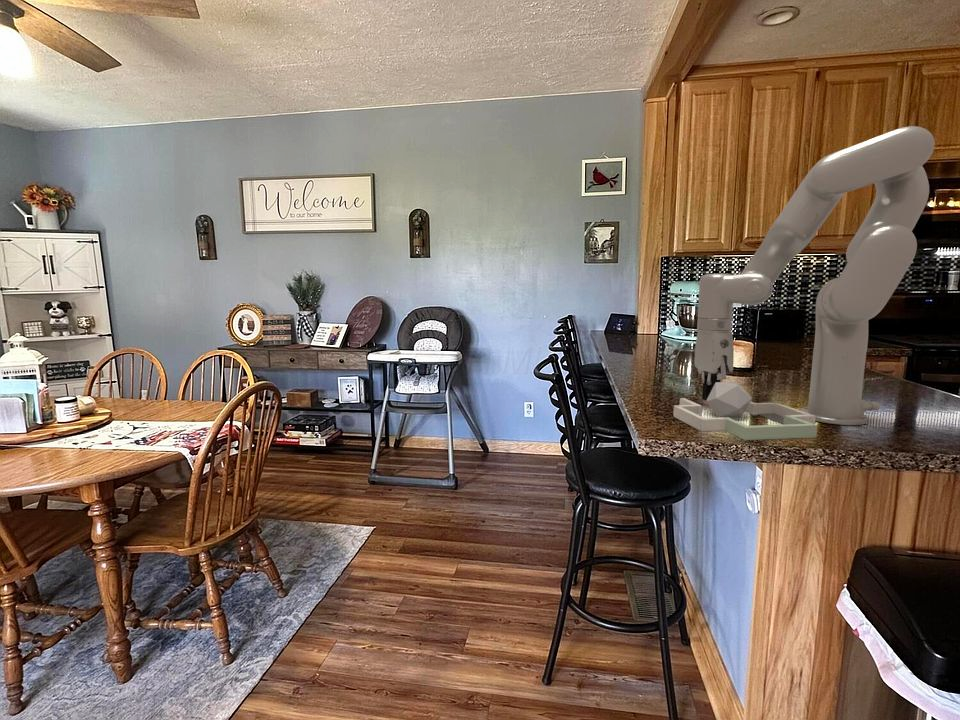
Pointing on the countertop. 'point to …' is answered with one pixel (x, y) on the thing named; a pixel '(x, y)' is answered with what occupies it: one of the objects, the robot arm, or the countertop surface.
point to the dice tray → (792, 420)
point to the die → (728, 399)
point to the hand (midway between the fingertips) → (709, 399)
